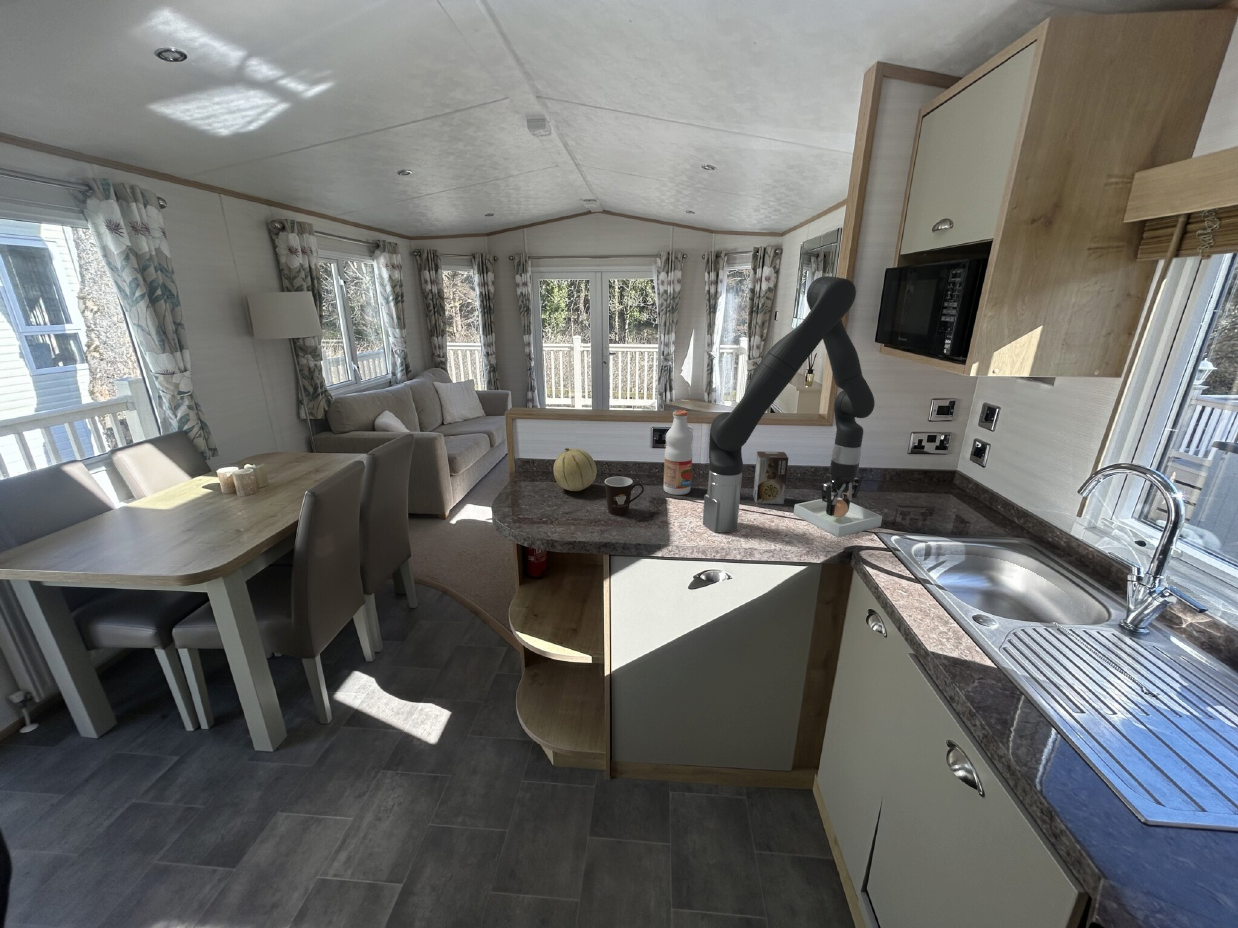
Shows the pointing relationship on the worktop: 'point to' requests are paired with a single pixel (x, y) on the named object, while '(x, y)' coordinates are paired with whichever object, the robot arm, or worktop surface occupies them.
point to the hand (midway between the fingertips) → (837, 513)
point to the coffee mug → (619, 494)
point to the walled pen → (837, 518)
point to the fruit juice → (678, 456)
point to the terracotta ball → (840, 508)
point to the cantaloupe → (574, 469)
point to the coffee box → (770, 477)
